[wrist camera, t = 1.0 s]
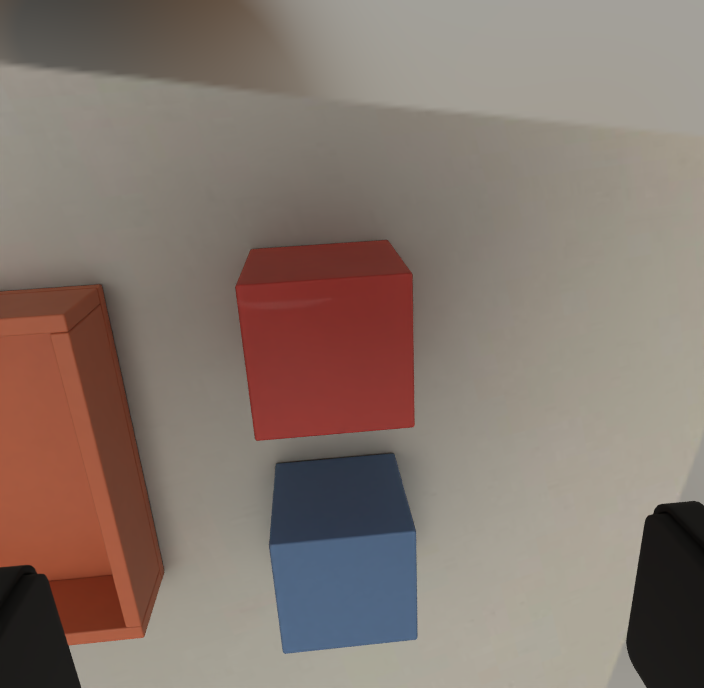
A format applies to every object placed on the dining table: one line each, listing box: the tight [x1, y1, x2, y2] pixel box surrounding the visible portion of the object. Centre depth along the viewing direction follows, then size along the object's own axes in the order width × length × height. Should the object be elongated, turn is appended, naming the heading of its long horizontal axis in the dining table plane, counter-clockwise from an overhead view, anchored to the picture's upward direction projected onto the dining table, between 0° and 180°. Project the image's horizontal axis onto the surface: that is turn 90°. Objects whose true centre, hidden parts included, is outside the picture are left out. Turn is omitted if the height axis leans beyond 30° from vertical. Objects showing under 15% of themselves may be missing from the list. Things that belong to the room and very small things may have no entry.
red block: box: [235, 240, 415, 441], centre depth 19 cm, size 5×5×5 cm
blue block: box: [269, 453, 417, 654], centre depth 22 cm, size 5×5×5 cm
